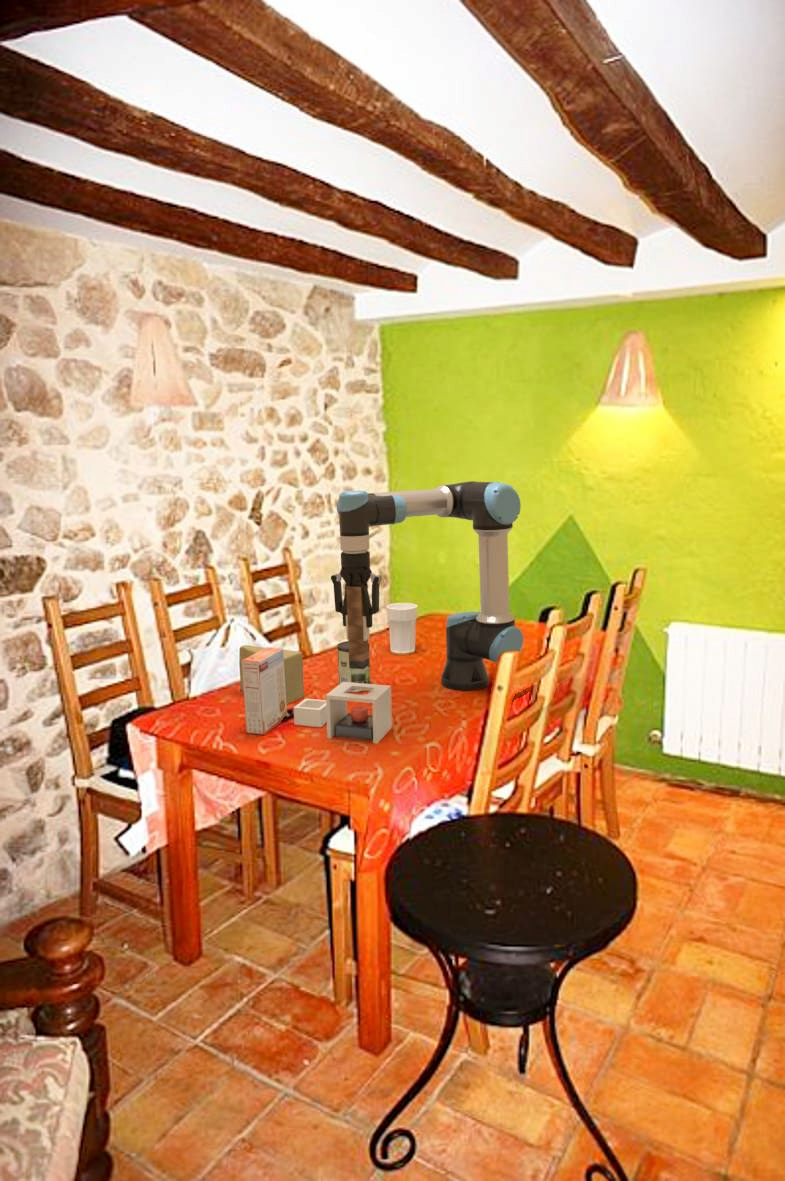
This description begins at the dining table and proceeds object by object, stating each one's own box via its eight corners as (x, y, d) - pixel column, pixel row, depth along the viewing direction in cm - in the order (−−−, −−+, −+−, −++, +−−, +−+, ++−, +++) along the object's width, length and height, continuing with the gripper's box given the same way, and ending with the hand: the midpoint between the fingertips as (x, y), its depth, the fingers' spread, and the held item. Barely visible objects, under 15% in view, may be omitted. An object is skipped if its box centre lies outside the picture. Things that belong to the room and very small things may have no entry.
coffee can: (373, 683, 260) (372, 640, 258) (366, 693, 250) (365, 649, 248) (343, 681, 262) (341, 639, 260) (334, 691, 253) (333, 648, 250)
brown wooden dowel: (368, 664, 215) (366, 584, 211) (363, 669, 211) (360, 587, 207) (354, 663, 216) (351, 583, 212) (349, 668, 212) (346, 586, 208)
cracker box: (269, 716, 231) (265, 646, 227) (288, 718, 229) (284, 647, 225) (244, 733, 218) (240, 659, 214) (264, 736, 216) (260, 661, 212)
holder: (332, 717, 229) (331, 700, 228) (320, 727, 222) (320, 710, 221) (306, 715, 232) (305, 698, 231) (294, 724, 224) (293, 707, 223)
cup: (423, 650, 298) (423, 604, 295) (407, 657, 289) (407, 610, 286) (397, 646, 304) (397, 601, 301) (381, 653, 295) (380, 607, 292)
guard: (391, 727, 220) (390, 685, 218) (377, 743, 209) (375, 699, 207) (344, 722, 225) (343, 681, 222) (327, 738, 214) (325, 695, 211)
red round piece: (370, 728, 218) (370, 707, 217) (365, 734, 214) (364, 713, 213) (355, 726, 220) (354, 706, 219) (348, 732, 215) (348, 711, 214)
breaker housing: (383, 728, 220) (382, 716, 219) (371, 740, 211) (371, 728, 211) (349, 725, 223) (348, 713, 222) (336, 737, 214) (336, 724, 214)
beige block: (231, 694, 252) (228, 648, 249) (252, 686, 260) (250, 641, 257) (284, 706, 240) (282, 657, 237) (305, 697, 248) (303, 650, 245)
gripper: (391, 549, 208) (393, 637, 213) (330, 548, 214) (333, 633, 218) (381, 554, 201) (384, 644, 206) (318, 552, 207) (322, 640, 211)
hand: (358, 638), depth 212 cm, fingers closed on brown wooden dowel, 4 cm apart
